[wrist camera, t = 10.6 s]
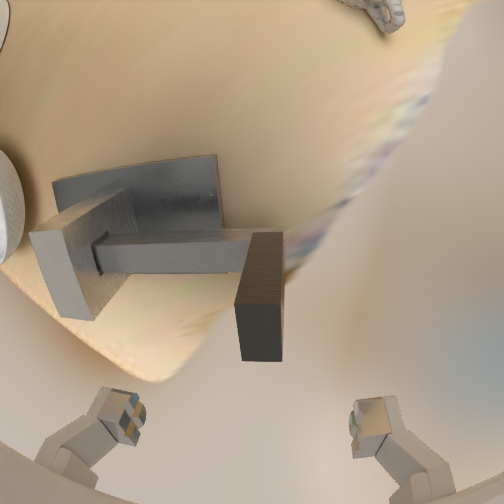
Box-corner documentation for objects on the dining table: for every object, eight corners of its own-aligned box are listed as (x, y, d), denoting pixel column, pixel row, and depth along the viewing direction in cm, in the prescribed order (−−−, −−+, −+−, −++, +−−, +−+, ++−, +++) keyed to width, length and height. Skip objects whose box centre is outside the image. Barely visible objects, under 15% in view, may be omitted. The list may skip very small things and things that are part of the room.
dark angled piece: (107, 265, 25) (42, 336, 16) (97, 228, 24) (20, 292, 15) (284, 262, 23) (282, 361, 14) (283, 219, 22) (280, 303, 13)
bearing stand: (81, 268, 35) (24, 325, 24) (57, 179, 30) (-18, 217, 18) (229, 267, 32) (201, 349, 21) (216, 154, 27) (168, 186, 16)
